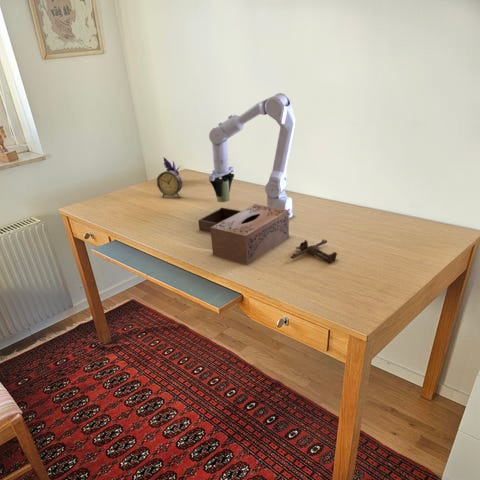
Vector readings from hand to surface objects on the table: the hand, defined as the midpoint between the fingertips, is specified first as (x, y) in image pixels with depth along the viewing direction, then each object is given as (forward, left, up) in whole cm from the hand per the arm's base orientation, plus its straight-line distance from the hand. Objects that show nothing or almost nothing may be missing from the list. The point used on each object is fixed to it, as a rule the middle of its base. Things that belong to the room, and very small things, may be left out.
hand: (223, 194), depth 180 cm
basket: (-10, +13, -8) cm, 18 cm away
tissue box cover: (-28, +23, -8) cm, 37 cm away
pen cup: (0, 0, -2) cm, 2 cm away
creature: (+51, -24, -8) cm, 57 cm away
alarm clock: (+35, -7, -8) cm, 37 cm away
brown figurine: (-51, +20, -8) cm, 55 cm away
